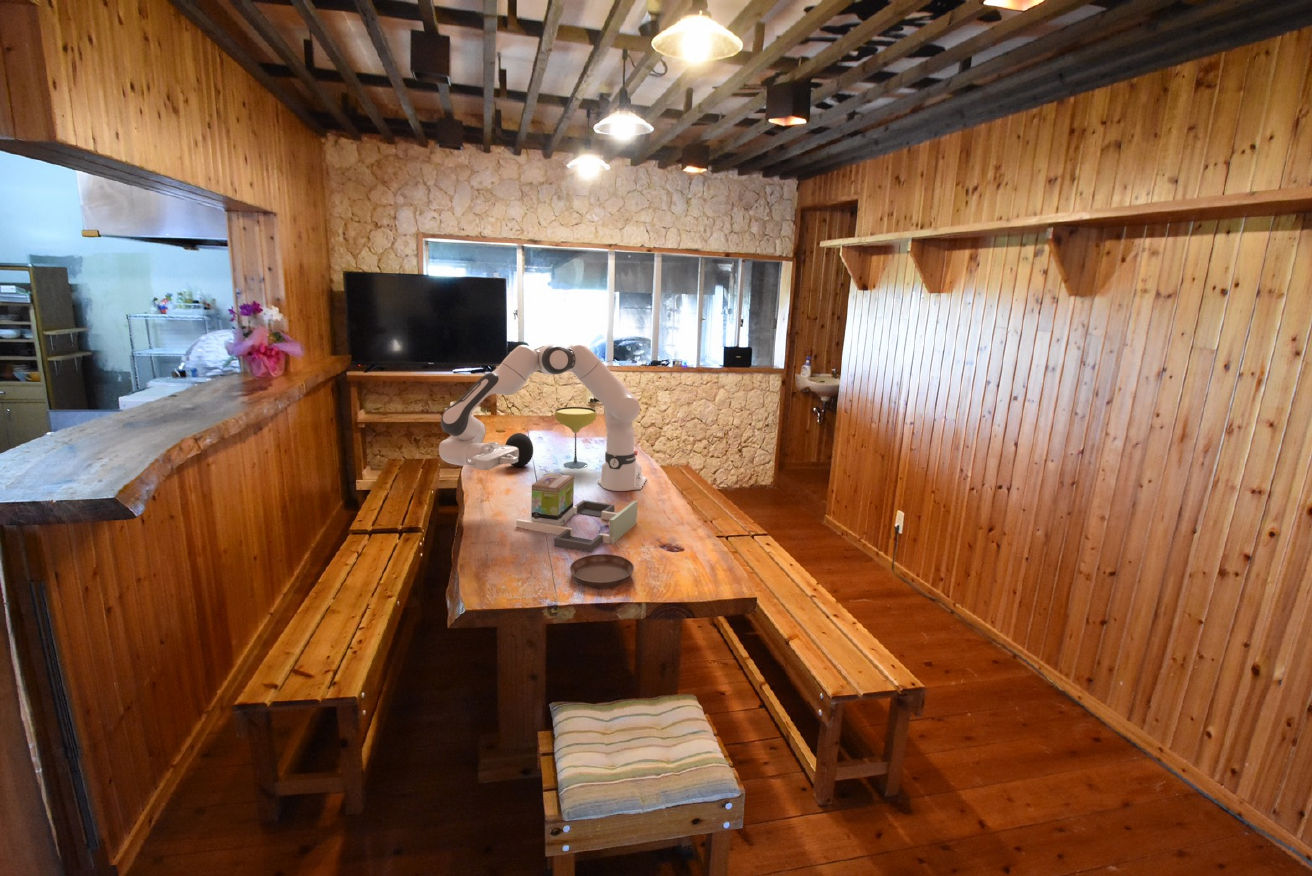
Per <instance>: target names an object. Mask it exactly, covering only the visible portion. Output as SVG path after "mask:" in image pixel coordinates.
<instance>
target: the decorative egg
mask: <svg viewBox="0 0 1312 876" xmlns="http://www.w3.org/2000/svg"><path fill="white" fill-rule="evenodd" d="M504 445H508V446H513V447H517V448H518V449H519V457H518V462H516V463H514V464H510V465H511V466H513V467H516V468H522V467H524V466H527V465H528V464H529V463H530V462H531V460H532V459H533V455H534V445H533V442H532V440H531V438H530V437H529V436H528V435H526V434H524V433H521V432H518V433H517V432H516V433H514V434H511V435H510V436H509V437H508V438H507V440H506V441H505V444H504Z"/></svg>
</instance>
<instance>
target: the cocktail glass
mask: <svg viewBox="0 0 1312 876" xmlns="http://www.w3.org/2000/svg"><path fill="white" fill-rule="evenodd" d="M554 417H555V420H556V421H557V422H558V423H559V424H561V425H563V426H565V427H567V428H569V429H570V430H571V432H573V433H574V458H573V461H567V462H564V463H563V465H564V466H565V468H567V467H569V468H568V469H574V468H577V469H583V468H582V467H584V466H585V465H587V466H588V463H586V462H584V461H578V460H577V459H578V458H577V434H578V433H579V432H580V431H581V429H583V428H585V427H587V426H588V425H589V426H590V425H591V424H593V422H595V421H596V418H597V410H596V409H594V408H591V407H585V406H584V407H583V406H566V407H559V408H556V409H555V412H554ZM564 466H563V467H564ZM584 468H585V467H584Z"/></svg>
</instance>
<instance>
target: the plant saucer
mask: <svg viewBox="0 0 1312 876" xmlns="http://www.w3.org/2000/svg"><path fill="white" fill-rule="evenodd" d="M634 570H635V565H634V564H633V562H632V561H631V560H629V559H628V558H626V557H623V556H620V555H615V554H607V553H598V554H597V553H596V554H588V555H586V556H581V557H579V558H577V559H576V560H574V561H573V562H571V564H570V567H569V571H570V573H571V575H572V576H573V578H574V579H576V580H577V582H579V583H580V584H581V585H584V586H587V587H589V588H597V589H598V588H601V589H602V588H612V587H616V586H619V585H621V584H623V583H625V582H626V581H627V580H628V579H629V578H630V577H631V576H632V574H633V572H634Z"/></svg>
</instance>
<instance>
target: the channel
mask: <svg viewBox="0 0 1312 876" xmlns="http://www.w3.org/2000/svg"><path fill="white" fill-rule="evenodd" d="M576 513H577V507H576V506H575V505H573V515H577V514H578V513H577V514H576ZM600 518H603V519H602V520H606V521H609V533H608V534H607V533H602V532H600V533H599V534H598V535H603V543H602V544H609V545H614V544H615V543H616V542H617V541H618V540H619V539H621V538H622V537H623V536H624V535H625V534H626V533H627V532H629V530H631V529H632V528H633V527H635V526H636V524H638V523H637V521H638V500H632V501H631V502H630V503H629V504H628V505H627V506H625V507H624V508H622V509H621V510H619V512H607V511H602V515H601V517H600ZM515 523H516V524H515V526H516V528H517V527H521V528H520V529H523V528H524V530H530V531H536V532H540V533H541V532H542V533H547V534H551V533H552V535H557V536H558V535H560V534H561V533H562V532H564V531H565V530H567V529H570V530H571V536H573V528H572V527H567V526H563V525H562V526H556V525H550V524H544V523H539V522H533V521H531V520H526V519H522V518H521V519H520V518H518V519H516V521H515Z"/></svg>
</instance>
